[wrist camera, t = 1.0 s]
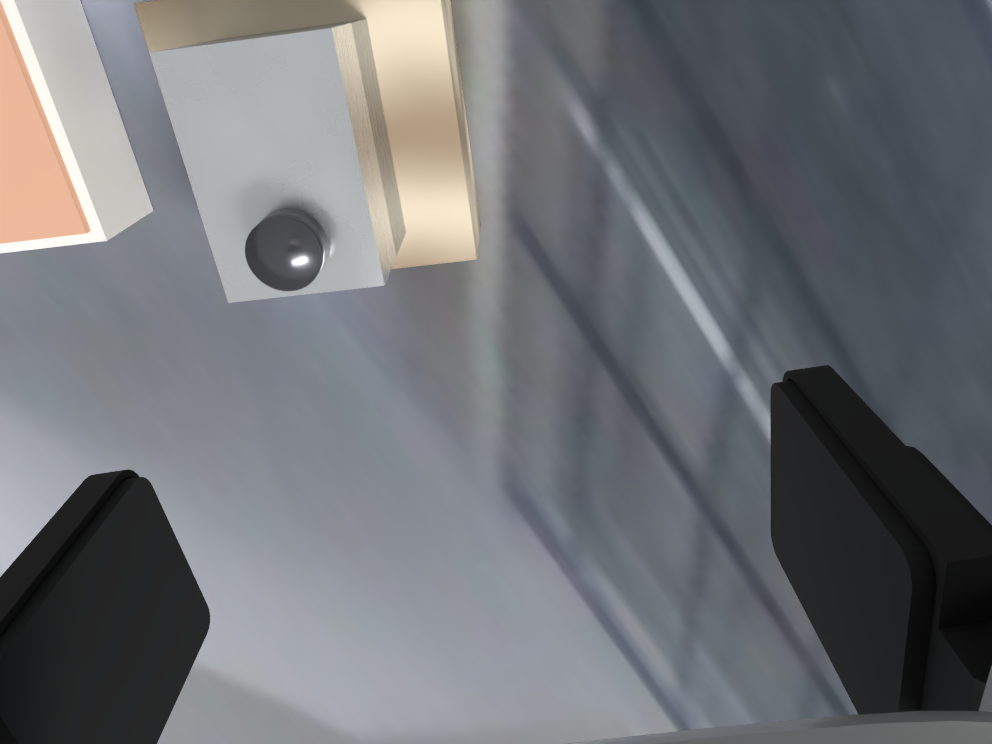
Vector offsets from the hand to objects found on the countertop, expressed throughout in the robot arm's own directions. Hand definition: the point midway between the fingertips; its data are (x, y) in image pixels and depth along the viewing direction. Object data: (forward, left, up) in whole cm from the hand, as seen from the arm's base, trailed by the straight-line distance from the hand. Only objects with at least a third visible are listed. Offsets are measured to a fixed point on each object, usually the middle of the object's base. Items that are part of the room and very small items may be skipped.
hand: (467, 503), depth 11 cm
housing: (-2, -7, -21) cm, 22 cm away
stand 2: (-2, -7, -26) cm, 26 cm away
